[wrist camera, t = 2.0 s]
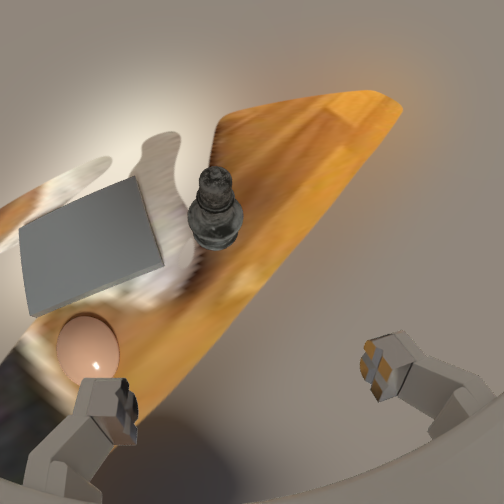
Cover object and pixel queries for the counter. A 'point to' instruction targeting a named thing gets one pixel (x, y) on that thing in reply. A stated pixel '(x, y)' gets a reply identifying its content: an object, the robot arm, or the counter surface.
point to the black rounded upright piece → (215, 210)
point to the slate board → (87, 247)
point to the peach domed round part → (87, 349)
